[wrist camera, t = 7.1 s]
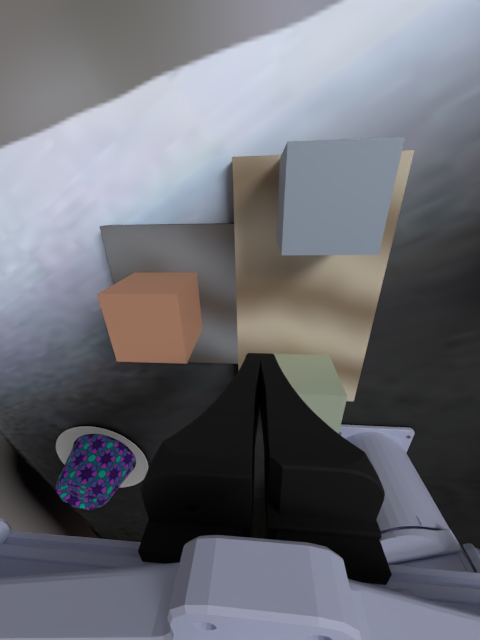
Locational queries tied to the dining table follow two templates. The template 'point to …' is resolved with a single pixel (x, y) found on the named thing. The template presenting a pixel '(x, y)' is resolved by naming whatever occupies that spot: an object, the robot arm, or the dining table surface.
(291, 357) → the sage block
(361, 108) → the dining table surface
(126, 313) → the terracotta block
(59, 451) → the patterned fedora hat
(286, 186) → the blue block
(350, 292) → the board
